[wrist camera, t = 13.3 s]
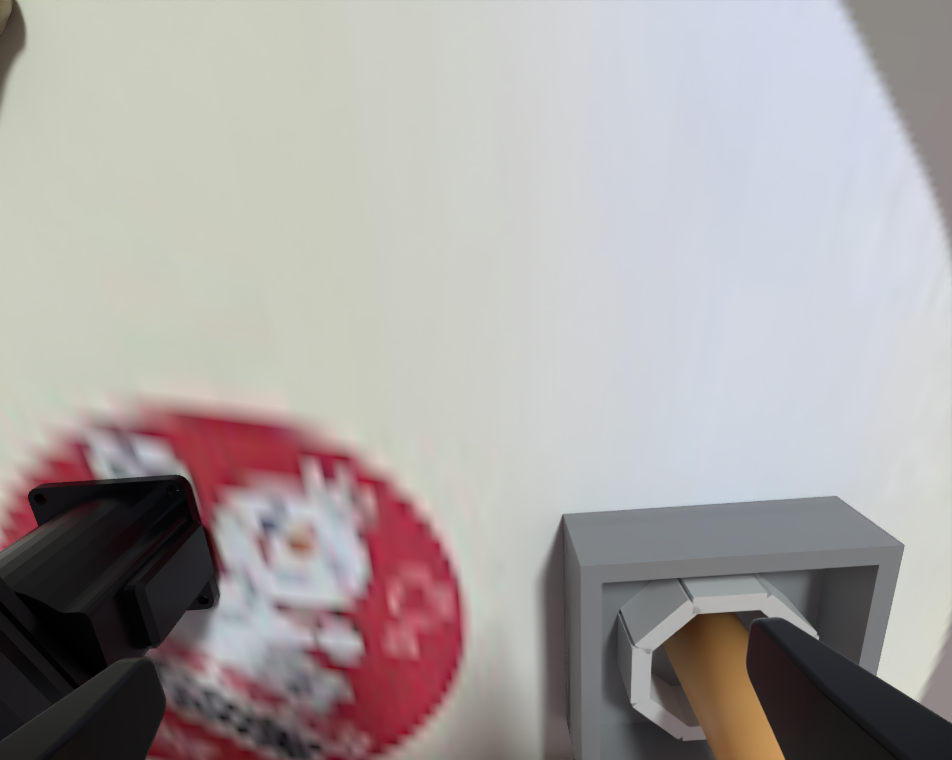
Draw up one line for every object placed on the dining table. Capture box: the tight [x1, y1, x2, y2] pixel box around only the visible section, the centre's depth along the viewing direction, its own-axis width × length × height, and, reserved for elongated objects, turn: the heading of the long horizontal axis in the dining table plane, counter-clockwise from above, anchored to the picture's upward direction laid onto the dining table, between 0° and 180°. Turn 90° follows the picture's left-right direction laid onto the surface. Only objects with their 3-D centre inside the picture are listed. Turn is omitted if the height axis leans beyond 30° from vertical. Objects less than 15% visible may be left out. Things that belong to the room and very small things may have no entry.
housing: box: [563, 496, 905, 760], centre depth 22 cm, size 12×12×4 cm
